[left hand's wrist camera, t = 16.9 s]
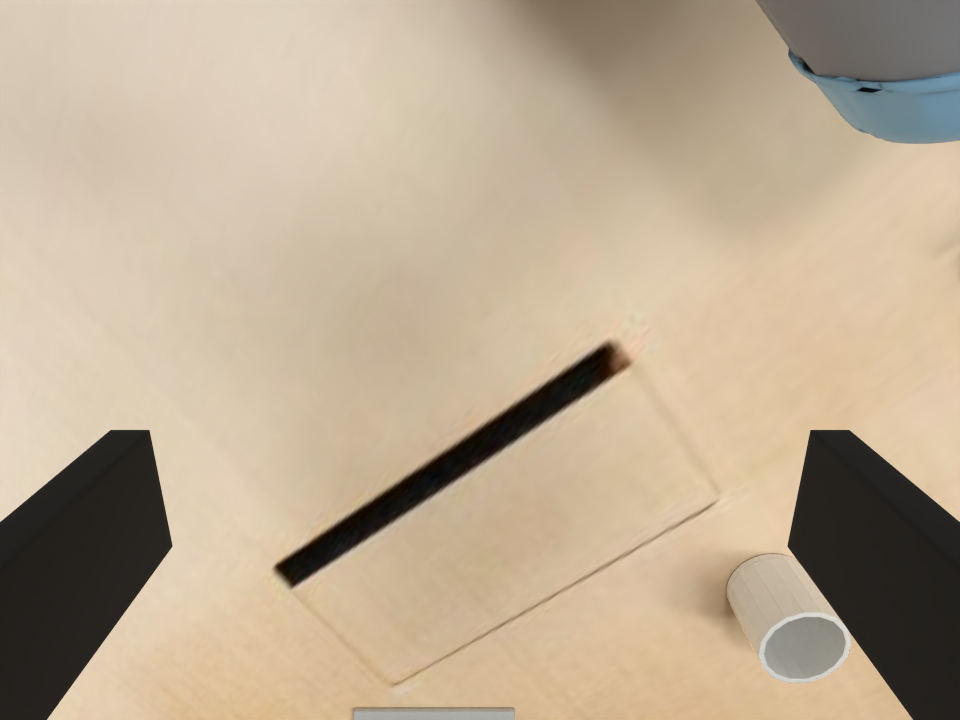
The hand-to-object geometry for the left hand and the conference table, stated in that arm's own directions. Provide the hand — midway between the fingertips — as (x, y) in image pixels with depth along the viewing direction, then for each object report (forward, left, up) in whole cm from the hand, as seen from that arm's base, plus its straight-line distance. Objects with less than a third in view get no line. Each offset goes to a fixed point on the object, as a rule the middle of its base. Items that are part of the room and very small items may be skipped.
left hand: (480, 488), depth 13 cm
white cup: (+28, +23, -31) cm, 47 cm away
